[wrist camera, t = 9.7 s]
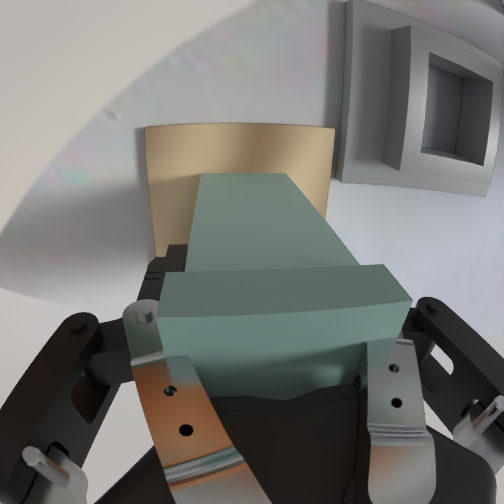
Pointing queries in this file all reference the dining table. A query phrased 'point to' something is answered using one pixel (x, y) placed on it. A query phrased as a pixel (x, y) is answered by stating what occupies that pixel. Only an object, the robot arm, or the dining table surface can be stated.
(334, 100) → the dining table surface
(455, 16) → the dining table surface
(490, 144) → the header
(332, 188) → the dining table surface
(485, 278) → the dining table surface
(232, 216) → the plug
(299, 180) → the cork pad
